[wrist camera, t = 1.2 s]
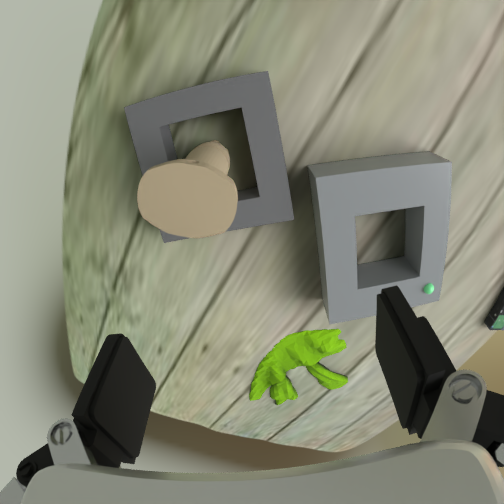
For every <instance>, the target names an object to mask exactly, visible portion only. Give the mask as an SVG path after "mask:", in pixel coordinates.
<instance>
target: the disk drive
mask: <svg viewBox="0 0 504 504" xmlns="http://www.w3.org/2000/svg"><path fill="white" fill-rule="evenodd" d="M484 323H485V324H486V325H487V327H488V328H489V329H490V330H504V288H503V290H502V291H501V293H500V295H499V297H498V299H497V301H496V303H495V304H494V306H493V308H492V309H491V311H490V313H489V315H488V316H487V318H486V320H485V321H484Z"/></svg>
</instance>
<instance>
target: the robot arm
mask: <svg viewBox="0 0 504 504" xmlns="http://www.w3.org/2000/svg"><path fill="white" fill-rule="evenodd" d="M375 348H376V354H377V357H378V360H379V363H380V365H381V368H382V371H383V374H384V376H385V379H386V382H387V385H388V388H389V390H390V393H391V396H392V399H393V402H394V405H395V408H396V411H397V414H398V417H399V420H400V423H401V426H402V428H407V429H408V432H409V435H410V434H413V433H417V434H418V437H419V438H420V439H421V441H420V442H419V443H414V444H408V445H404V446H400V447H396V448H391V449H387V450H382V451H379V452H374V453H370V454H366V455H361V456H357V457H352V458H348V459H342V460H336V461H331V462H326V463H320V464H314V465H307V466H300V467H293V468H284V469H275V470H265V471H252V472H235V473H171V472H155V471H142V470H131V469H122V468H121V467H120V464H121V462H123V463H130V464H134V463H135V459H136V457H138V456H139V453H140V449H141V445H142V441H143V437H144V433H145V428H146V424H147V420H148V416H149V412H150V409H151V405H152V401H153V397H154V393H155V389H156V383H155V380H154V379H153V377H152V376H151V374H150V372H149V371H148V369H147V368H146V366H145V365H144V363H143V362H142V360H141V358H140V357H139V355H138V354H137V352H136V350H135V349H134V347H133V345H132V344H131V342H130V340H129V339H128V338H127V337H125V336H124V335H123V334H111V335H108V336H107V337H106V339H105V341H104V343H103V345H102V348H101V350H100V352H99V354H98V356H97V358H96V360H95V362H94V365H93V367H92V369H91V371H90V373H89V375H88V378H87V380H86V382H85V384H84V387H83V389H82V392H81V394H80V396H79V398H78V401H77V403H76V405H75V408H74V410H73V413H72V416H73V417H74V419H73V421H72V420H70V419H61V420H58V421H57V422H56V423H54V424H53V425H52V427H51V428H50V429H49V432H48V435H47V439H48V444H46V445H45V446H43V447H42V448H40V449H39V450H37V451H35V452H34V453H32V454H31V455H29V456H28V457H26V458H25V459H23V461H21V462H20V464H19V465H18V468H17V473H16V474H17V479H16V478H15V477H14V478H13V479H12V480H11V481H10V482H9V483H8V484H7V485H6V486H5V487H4V489H3V490H2V491H1V492H0V504H504V479H503V477H502V475H501V473H500V471H499V468H498V467H504V395H500V394H498V393H494V392H491V391H488V390H487V387H486V383H485V381H484V379H483V378H482V376H480V375H479V374H478V373H476V372H474V371H471V370H459V371H456V369H455V368H454V366H453V364H452V362H451V360H450V358H449V357H448V355H447V353H446V351H445V349H444V348H443V346H442V344H441V342H440V341H439V339H438V337H437V335H436V334H435V332H434V330H433V329H432V327H431V325H430V324H429V322H428V320H427V319H426V318H425V317H424V316H422V317H418V318H417V317H416V315H415V313H414V312H413V310H412V308H411V307H410V305H409V303H408V302H407V300H406V298H405V297H404V295H403V293H402V292H401V290H400V288H399V287H398V286H397V285H396V286H392V287H388V288H384V289H382V290H381V293H380V294H377V310H376V344H375Z"/></svg>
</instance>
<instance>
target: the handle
mask: <svg viewBox="0 0 504 504" xmlns="http://www.w3.org/2000/svg"><path fill="white" fill-rule="evenodd" d="M229 167H230V157H229V150H228V149H226V148H225V147H224V146H223V145H221V144H220V142H219V141H217V140H213V141H211V142H205V143H203V144H200V145H199V146H197V147H195V148H194V149H193V150H192V151H191V152H190V153H189V154H188V156H187V157H186V159H177V160H172V161H169V162H165V163H162V164H159V165H156V166H153V167H151V168H150V169H148V170H147V171H146V173H145V174H144V175H143V177H142V178H141V180H140V183H139V186H138V192H137V202H138V208H139V211H140V213H141V215H142V217H143V218H144V219H145V220H146V221H148V222H149V223H151V224H152V225H154V226H155V227H157V228H159V229H160V230H162V231H164V232H166V233H169V234H173V235H177V236H183V237H188V238H204V237H208V236H213V235H217V234H221V233H224V232H225V231H226V230H227V229H228V228H229V227H230V225H231V224H232V222H233V220H234V217H235V214H236V210H237V202H238V194H237V188H236V185H235V183H234V181H233V180H232V179H231V178H230V177H229V176H227V174H228V171H229Z"/></svg>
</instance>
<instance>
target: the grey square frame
mask: <svg viewBox="0 0 504 504" xmlns="http://www.w3.org/2000/svg"><path fill="white" fill-rule="evenodd" d="M241 107H242V112H243V117H244V121H245V126H246V131H247V136H248V141H249V146H250V151H251V155H252V160H253V165H254V170H255V175H256V180H257V185H258V187H256V188H250V189H245V190H239V191H237V194H238V202H237V210H236V214H235V217H234V220H233V222H232V224H231V225H230V227H229V228H228V229H227V230H226V231H231V230H237V229H243V228H248V227H254V226H260V225H266V224H272V223H278V222H284V221H290V220H294V215H293V208H292V202H291V195H290V189H289V183H288V177H287V171H286V165H285V159H284V153H283V147H282V142H281V136H280V131H279V125H278V120H277V114H276V109H275V104H274V99H273V94H272V89H271V84H270V79H269V74H268V71H265V72H259V73H253V74H248V75H242V76H237V77H232V78H227V79H223V80H218V81H214V82H209V83H205V84H201V85H197V86H193V87H189V88H185V89H182V90H178V91H174V92H171V93H167V94H164V95H161V96H157V97H154V98H151V99H148V100H144V101H141V102H138V103H135V104H132V105H129V106H127V107H124V109H125V113H126V117H127V121H128V125H129V129H130V132H131V136H132V140H133V144H134V147H135V151H136V154H137V158H138V161H139V165H140V168H141V172H142V175H144V174H145V173H146V171H147V170H148V169H150V168H151V167H153V166H156V165H159V164H162V163H165V162H169V161H172V160H177V155H176V151H175V148H174V144H173V140H172V136H171V132H170V128H169V124H172V123H176V122H180V121H184V120H188V119H192V118H196V117H200V116H204V115H208V114H213V113H217V112H222V111H226V110H231V109H236V108H241ZM226 231H225V232H226ZM160 232H161V235H162V238H163V241H164V243H166V242H171V241H177V240H182V239H187V238H188V237H183V236H177V235H173V234H169V233H166V232H164V231H162V230H160Z"/></svg>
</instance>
